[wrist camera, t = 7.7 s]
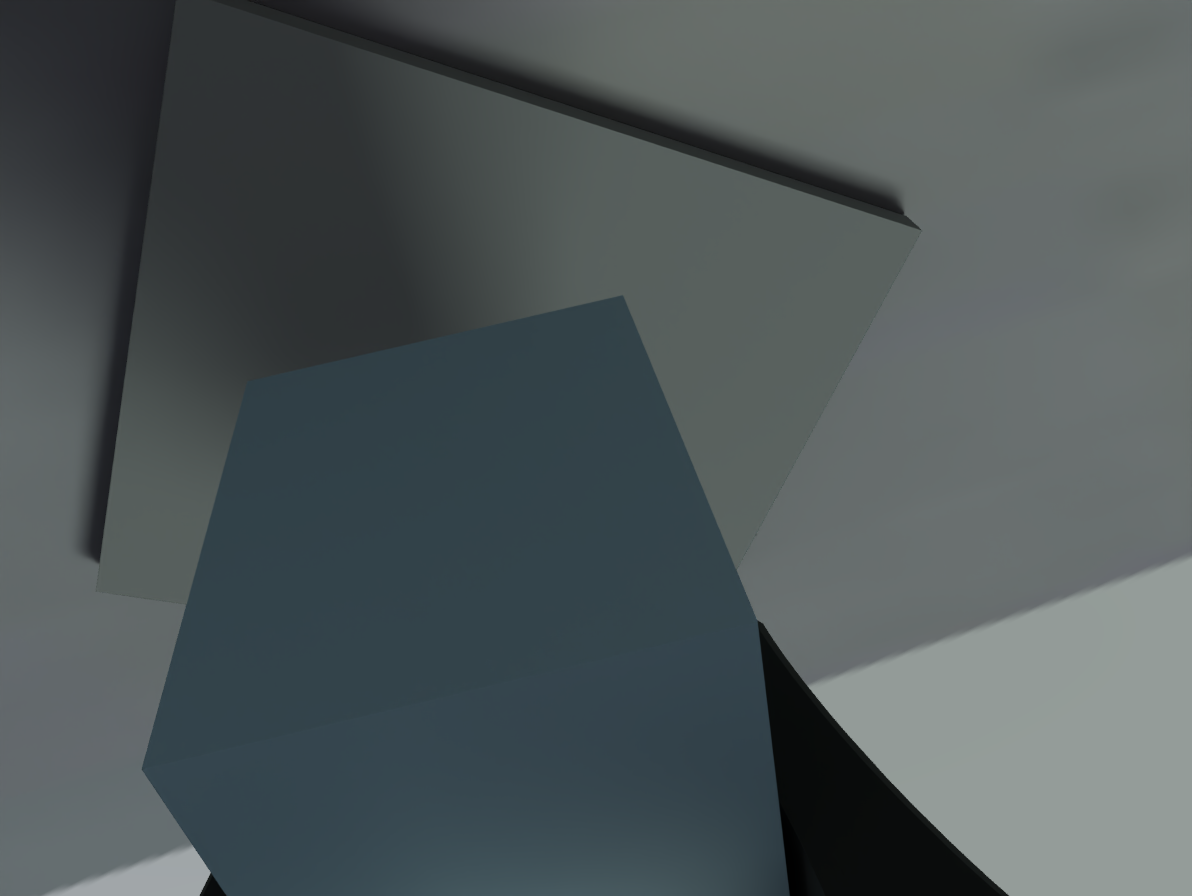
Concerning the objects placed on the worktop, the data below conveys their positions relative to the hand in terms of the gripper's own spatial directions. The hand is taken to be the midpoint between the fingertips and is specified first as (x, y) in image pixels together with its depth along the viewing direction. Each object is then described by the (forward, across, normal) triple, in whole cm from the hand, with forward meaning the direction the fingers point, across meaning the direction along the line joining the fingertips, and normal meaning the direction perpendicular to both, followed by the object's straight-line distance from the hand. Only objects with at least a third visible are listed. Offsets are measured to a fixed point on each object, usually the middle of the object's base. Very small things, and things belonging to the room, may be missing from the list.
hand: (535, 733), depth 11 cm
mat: (+7, 0, 0) cm, 7 cm away
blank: (+2, 0, 0) cm, 2 cm away
